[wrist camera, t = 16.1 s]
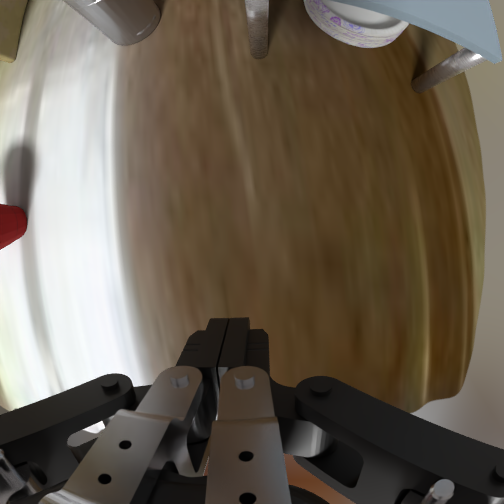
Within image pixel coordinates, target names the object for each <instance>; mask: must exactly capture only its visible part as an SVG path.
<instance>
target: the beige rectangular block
mask: <svg viewBox="0 0 504 504" xmlns="http://www.w3.org/2000/svg"><path fill="white" fill-rule="evenodd" d="M27 2H28V0H0V60H2V61H5V62H8V63H12V62H13V61H14V60H15V58H16V53H17V47H18V41H19V35H20V30H21V25H22V20H23V16H24V12H25V8H26V5H27Z"/></svg>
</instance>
